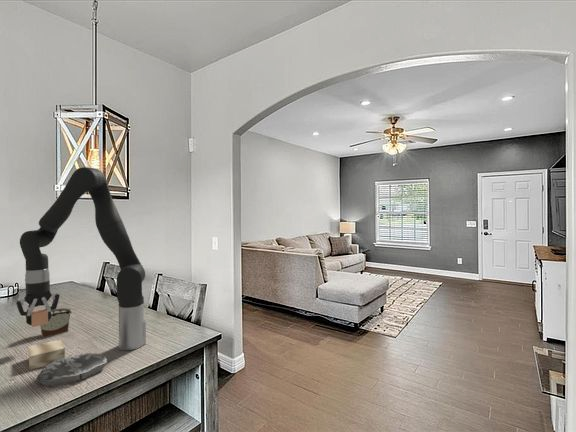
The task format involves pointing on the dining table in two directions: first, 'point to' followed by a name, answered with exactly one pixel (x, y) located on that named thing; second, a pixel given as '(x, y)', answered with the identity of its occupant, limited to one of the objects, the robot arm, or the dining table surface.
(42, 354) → the birch block
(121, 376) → the dining table surface
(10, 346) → the dining table surface
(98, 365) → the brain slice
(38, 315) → the terracotta cube
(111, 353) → the dining table surface
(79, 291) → the dining table surface
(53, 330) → the food container
